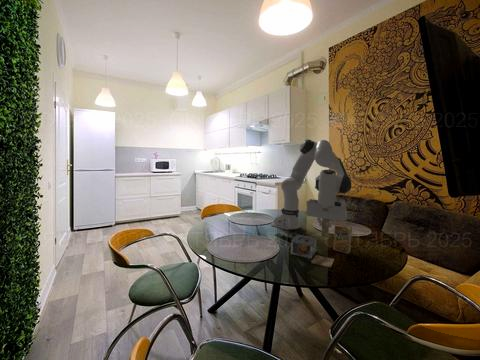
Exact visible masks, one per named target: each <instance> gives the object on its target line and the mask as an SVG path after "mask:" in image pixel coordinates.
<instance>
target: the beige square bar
mask: <svg viewBox="0 0 480 360" xmlns="http://www.w3.org/2000/svg"><path fill="white" fill-rule="evenodd" d="M323 211H327V212H329V209H326V208H323ZM321 222H322V226H321V237H322V238H329V228H330V227H328V224H329V223H330V219H325V218H321Z"/></svg>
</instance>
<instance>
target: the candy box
mask: <svg viewBox="0 0 480 360" xmlns="http://www.w3.org/2000/svg"><path fill="white" fill-rule="evenodd" d="M352 231H353V227H351V226H347V225H341V224H335V225H334V233H333V245H332V246H333V247H332V250H333V251H336V252H340V253H343V254H346V255H349V253H351V248H352V247H351V246H352V234H353V233H352Z"/></svg>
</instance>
